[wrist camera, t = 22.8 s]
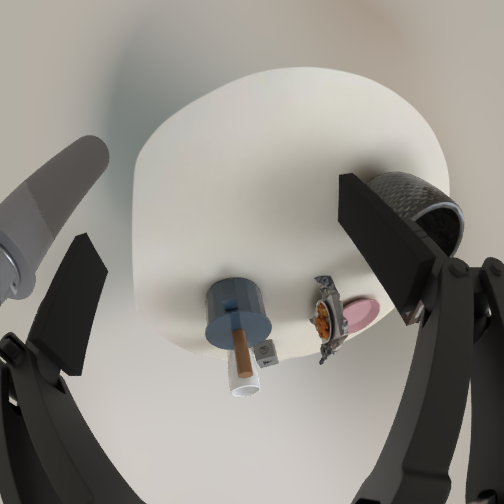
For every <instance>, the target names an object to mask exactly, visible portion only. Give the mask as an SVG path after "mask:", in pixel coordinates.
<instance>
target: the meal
mask: <svg viewBox="0 0 504 504" xmlns="http://www.w3.org/2000/svg"><path fill="white" fill-rule="evenodd" d="M314 279H316V281H317V282H320V283H321V287H319V288H320V291H321V292H322V295H323V300H319V301H318V302H317V304H316V316H314V317H313V319H310V322H311V323H312V324H314V325H315V327H316V331H318V333H319V336H320V338H321V339H322V342H323V344H321V349H320V350H321V354H322V355H323V357H322V358H321V360H320V362H319V363H320V365H321V364H323V362H324V361H325V360H326V359H327V357H329V356H331V354H334V352H336V351H338V349H339V348H340V347H341V346H342V344H343V341H344V340H345V339H346V338H347V337H348V333H349V332H348V329H347V326H348V320H347V319H346V318H345V317H344V315H343V303H342V302H341V301H340V300H339V299H340V294H339V293H338V291H337V289H336V287H335V285H334V283H333V280H332V278H331V276H321V277H317V278H314ZM337 293H338V294H337ZM318 305H319V307H317V306H318ZM345 320H347V321H345Z"/></svg>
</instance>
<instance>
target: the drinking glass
mask: <svg viewBox="0 0 504 504" xmlns="http://www.w3.org/2000/svg"><path fill="white" fill-rule="evenodd" d="M249 353H250V358H251V364H252V369H253V376H252V377H250V378H245V379H243V378H239V377H238V374H237V367H236V360H235V353H234V350H228V375H229V385H230V390H231V394H232V395H234V396H238V397H246V396H251V395H254V394H257V393H258V392H259V391H260V390H261V387H260V381H259V375H258V371H257V368H256V365H255V361H254V358H253V354H252V351H251V348H249Z"/></svg>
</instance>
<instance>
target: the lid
mask: <svg viewBox="0 0 504 504" xmlns="http://www.w3.org/2000/svg"><path fill="white" fill-rule="evenodd" d="M271 329H272V325H271V322H270V320H269V319H268V317H266V316H265V315H264V314H262V313H259V312H256V311H252V310H235V311H230V312H226V313H223V314H221V315H219V316H217V317H215V318H214V319H212V320H211V321H210V322H209V323H208V325H207V327H206V329H205V336H206V339H207V340H208V341H209V342H210V343H211V344H212V345H214V346H216V347H218V348H221V349H226V350H234V353H235V360H236V367H237V374H238V377H239V378H243V379H245V378H250V377H252V376H253V369H252V364H251V358H250V353H249V348H250V347H253V346H255V345H257V344H259V343H261V342H263V341H264V340H265V339H266V338H267V337H268V336H269V334H270V333H271Z"/></svg>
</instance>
